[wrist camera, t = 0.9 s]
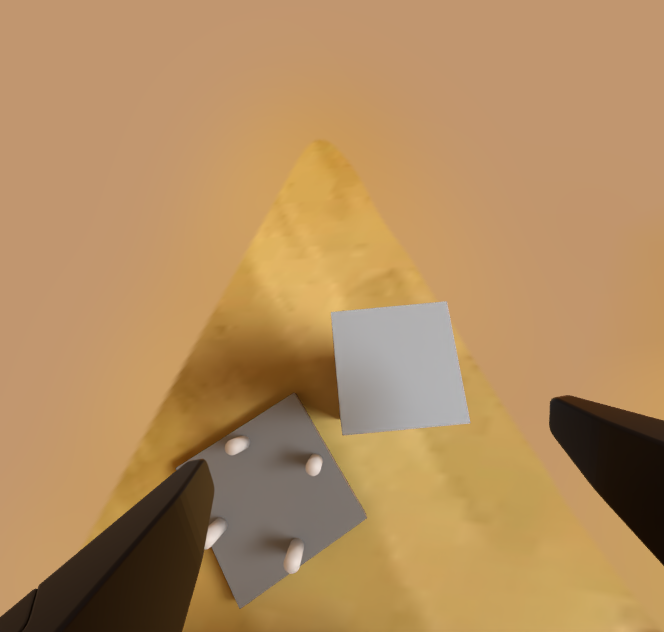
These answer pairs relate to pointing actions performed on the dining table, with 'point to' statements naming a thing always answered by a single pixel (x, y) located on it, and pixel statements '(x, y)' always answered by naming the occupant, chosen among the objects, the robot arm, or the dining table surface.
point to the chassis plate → (274, 499)
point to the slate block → (397, 369)
